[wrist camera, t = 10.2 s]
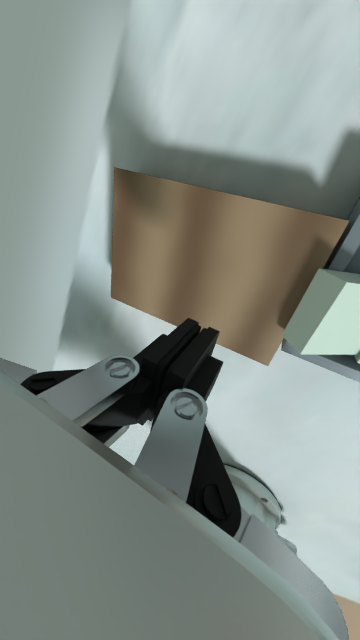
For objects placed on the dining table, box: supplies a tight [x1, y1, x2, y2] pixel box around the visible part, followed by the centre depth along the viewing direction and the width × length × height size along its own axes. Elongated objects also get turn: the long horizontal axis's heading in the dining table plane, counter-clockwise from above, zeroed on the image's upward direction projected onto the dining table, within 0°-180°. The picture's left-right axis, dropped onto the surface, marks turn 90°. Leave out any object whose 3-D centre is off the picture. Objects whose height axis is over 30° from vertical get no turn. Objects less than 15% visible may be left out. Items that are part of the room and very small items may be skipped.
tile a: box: [282, 268, 360, 355], centre depth 14 cm, size 5×5×2 cm
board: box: [111, 167, 349, 366], centre depth 18 cm, size 16×11×3 cm
